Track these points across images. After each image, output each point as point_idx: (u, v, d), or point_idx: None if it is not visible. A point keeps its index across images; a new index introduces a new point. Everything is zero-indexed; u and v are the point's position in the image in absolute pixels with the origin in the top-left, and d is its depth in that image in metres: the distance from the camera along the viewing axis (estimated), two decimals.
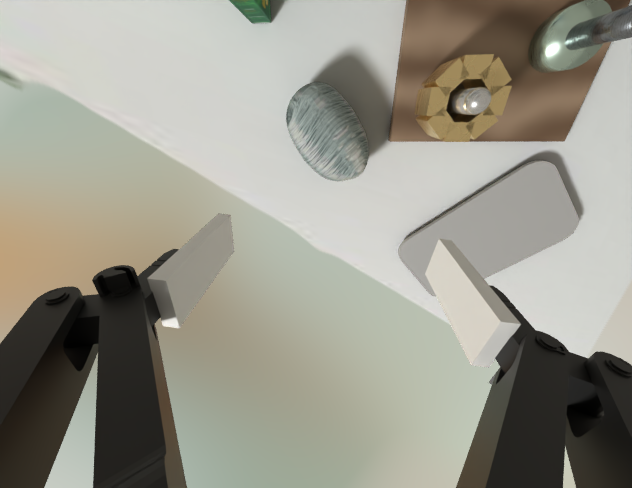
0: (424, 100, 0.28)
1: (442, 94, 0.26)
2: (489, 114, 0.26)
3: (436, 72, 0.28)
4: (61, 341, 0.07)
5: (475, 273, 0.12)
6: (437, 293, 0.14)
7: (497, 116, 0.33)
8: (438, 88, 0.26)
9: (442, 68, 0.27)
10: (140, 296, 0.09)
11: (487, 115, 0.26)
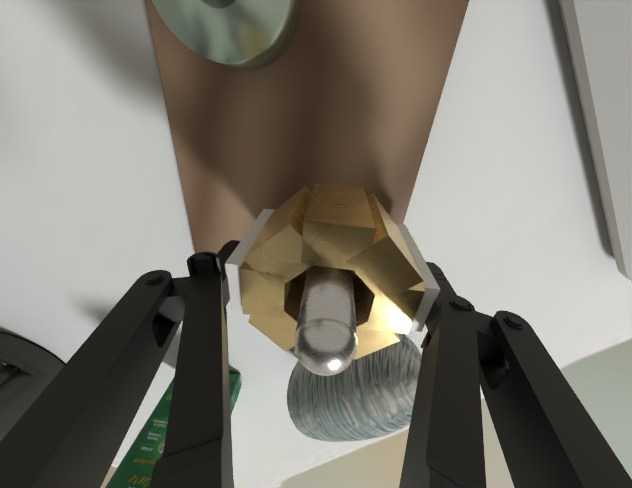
0: None
1: None
2: (366, 258, 0.10)
3: None
4: (151, 319, 0.08)
5: (415, 251, 0.13)
6: None
7: (380, 105, 0.14)
8: None
9: None
10: (219, 281, 0.10)
11: (368, 261, 0.10)
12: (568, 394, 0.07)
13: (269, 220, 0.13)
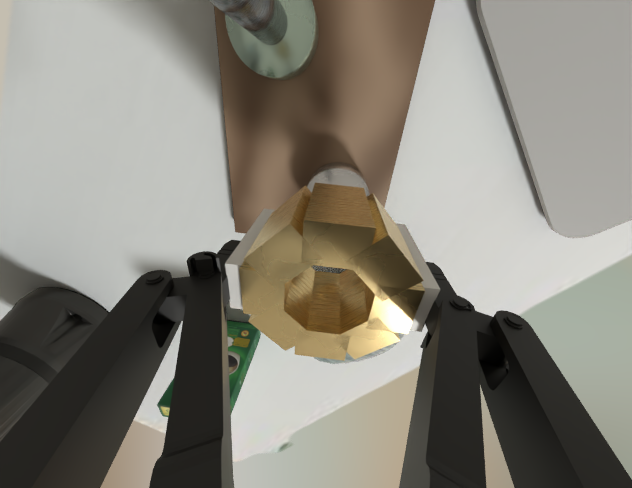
0: None
1: (308, 340, 0.12)
2: (366, 257, 0.10)
3: None
4: (151, 319, 0.08)
5: (415, 251, 0.13)
6: None
7: (370, 103, 0.20)
8: (297, 345, 0.13)
9: None
10: (219, 281, 0.10)
11: (367, 261, 0.10)
12: (568, 395, 0.07)
13: (269, 220, 0.13)
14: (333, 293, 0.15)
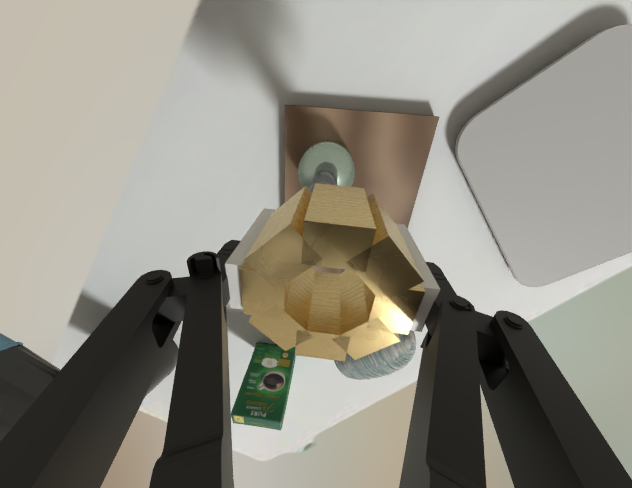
0: None
1: (308, 341, 0.12)
2: (366, 258, 0.10)
3: None
4: (151, 319, 0.08)
5: (415, 251, 0.13)
6: None
7: (387, 206, 0.30)
8: (297, 346, 0.13)
9: None
10: (219, 281, 0.10)
11: (368, 262, 0.10)
12: (568, 394, 0.07)
13: (269, 220, 0.13)
14: (333, 293, 0.15)
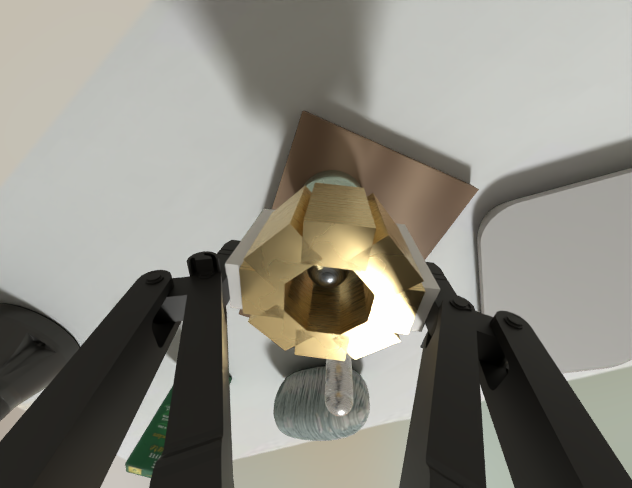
0: None
1: (308, 341, 0.12)
2: (366, 257, 0.10)
3: None
4: (151, 319, 0.08)
5: (415, 251, 0.13)
6: None
7: None
8: (297, 346, 0.13)
9: None
10: (219, 281, 0.10)
11: (367, 261, 0.10)
12: (568, 394, 0.07)
13: (269, 220, 0.13)
14: (333, 293, 0.15)
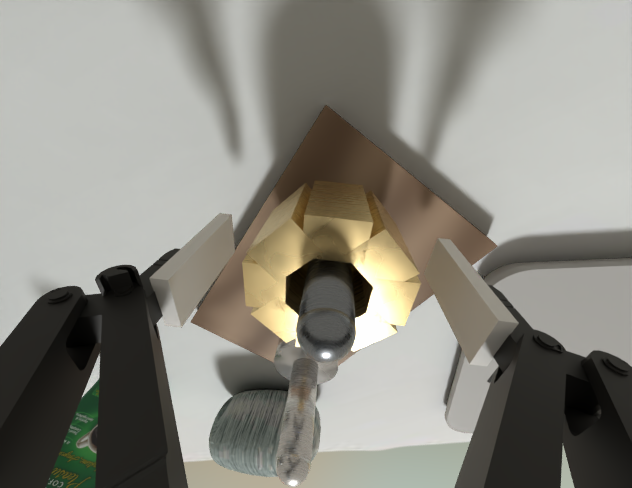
0: None
1: None
2: (364, 251, 0.10)
3: None
4: (64, 340, 0.08)
5: (473, 272, 0.12)
6: (436, 292, 0.14)
7: None
8: None
9: None
10: (142, 295, 0.09)
11: (365, 254, 0.10)
12: None
13: (271, 216, 0.13)
14: None
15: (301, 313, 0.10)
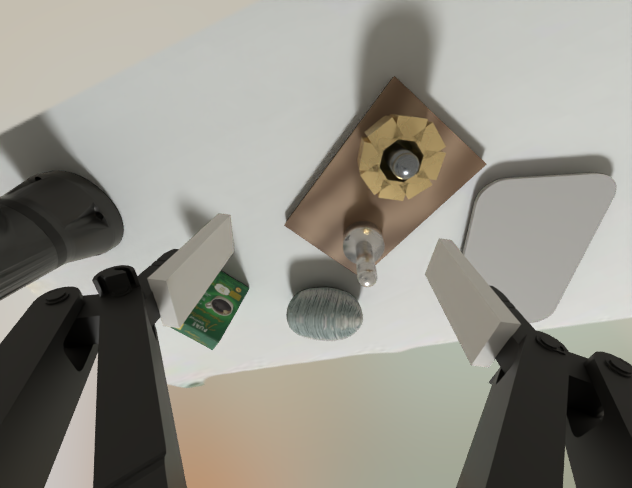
0: None
1: (387, 187, 0.26)
2: (422, 134, 0.23)
3: None
4: (61, 341, 0.07)
5: (475, 273, 0.12)
6: (437, 293, 0.14)
7: (409, 207, 0.35)
8: (381, 191, 0.26)
9: None
10: (140, 296, 0.09)
11: (422, 136, 0.23)
12: None
13: (368, 130, 0.26)
14: None
15: (395, 158, 0.23)
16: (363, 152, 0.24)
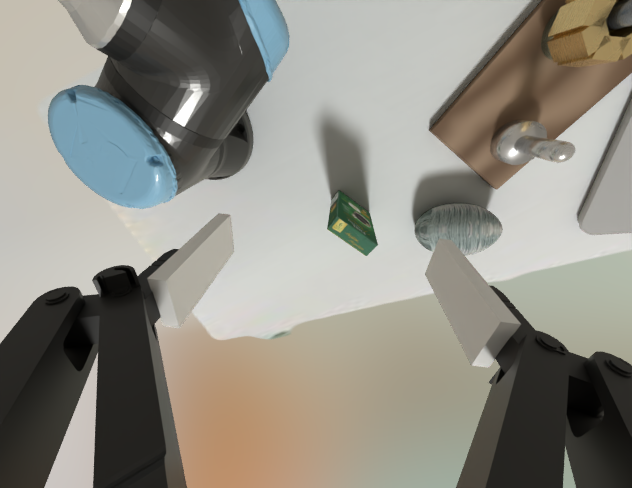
0: (589, 62, 0.28)
1: (606, 45, 0.26)
2: None
3: (560, 49, 0.29)
4: (61, 341, 0.07)
5: (475, 273, 0.12)
6: (437, 293, 0.14)
7: (570, 101, 0.35)
8: (597, 51, 0.26)
9: (565, 44, 0.28)
10: (140, 296, 0.09)
11: None
12: None
13: None
14: None
15: None
16: (595, 2, 0.25)
